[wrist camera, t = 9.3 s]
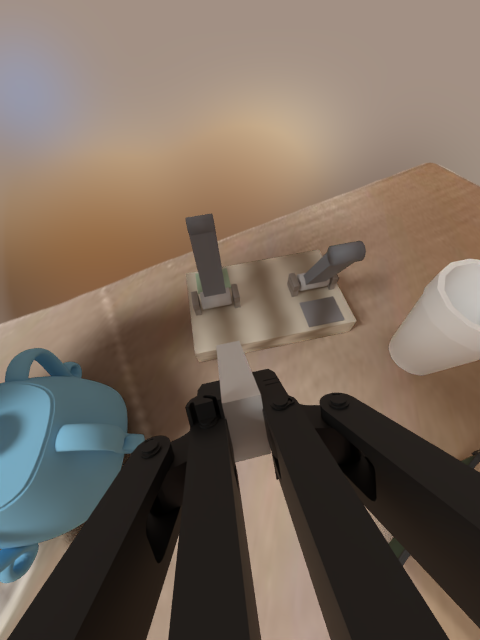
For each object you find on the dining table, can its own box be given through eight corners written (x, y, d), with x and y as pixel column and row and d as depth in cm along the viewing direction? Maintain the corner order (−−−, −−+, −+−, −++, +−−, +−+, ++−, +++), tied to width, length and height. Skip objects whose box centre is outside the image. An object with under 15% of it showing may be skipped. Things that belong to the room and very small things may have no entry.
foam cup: (445, 330, 35) (536, 267, 24) (458, 394, 30) (579, 353, 19) (375, 318, 36) (429, 253, 25) (377, 378, 32) (446, 330, 21)
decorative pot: (25, 590, 23) (-208, 721, 11) (-20, 450, 29) (-199, 442, 18) (167, 455, 28) (107, 449, 17) (103, 361, 35) (27, 309, 23)
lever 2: (298, 292, 36) (334, 264, 24) (294, 277, 36) (328, 241, 24) (324, 287, 36) (372, 257, 24) (320, 272, 36) (366, 234, 24)
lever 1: (204, 312, 33) (180, 221, 26) (203, 303, 35) (181, 216, 28) (232, 307, 34) (217, 215, 26) (230, 298, 36) (215, 210, 28)
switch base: (199, 362, 34) (191, 346, 29) (189, 285, 41) (181, 262, 36) (348, 331, 35) (363, 311, 31) (314, 262, 42) (322, 237, 38)
